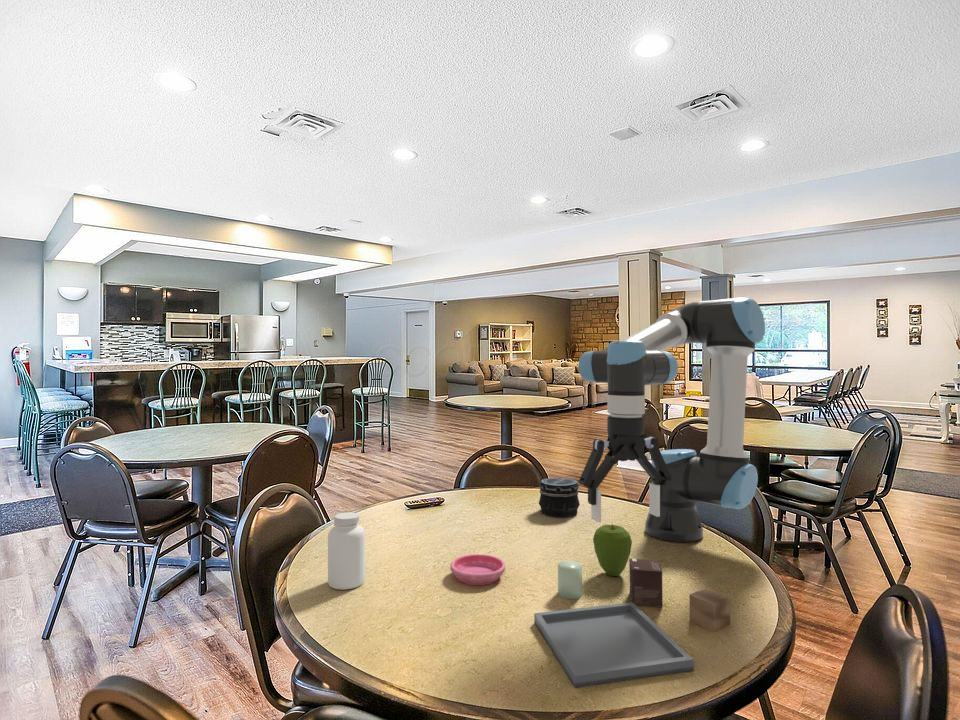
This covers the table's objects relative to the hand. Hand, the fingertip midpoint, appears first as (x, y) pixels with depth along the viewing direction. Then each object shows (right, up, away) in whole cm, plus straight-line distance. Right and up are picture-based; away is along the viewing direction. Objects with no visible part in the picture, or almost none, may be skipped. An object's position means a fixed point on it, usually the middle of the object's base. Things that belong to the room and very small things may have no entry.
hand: (625, 517), depth 112 cm
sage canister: (-11, -16, +1) cm, 20 cm away
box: (+4, -17, -2) cm, 17 cm away
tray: (-8, -17, -19) cm, 26 cm away
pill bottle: (-60, -17, +7) cm, 62 cm away
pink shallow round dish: (-31, -17, +10) cm, 37 cm away
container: (-5, -16, +59) cm, 61 cm away
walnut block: (+13, -16, -11) cm, 23 cm away
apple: (0, -16, +11) cm, 20 cm away
